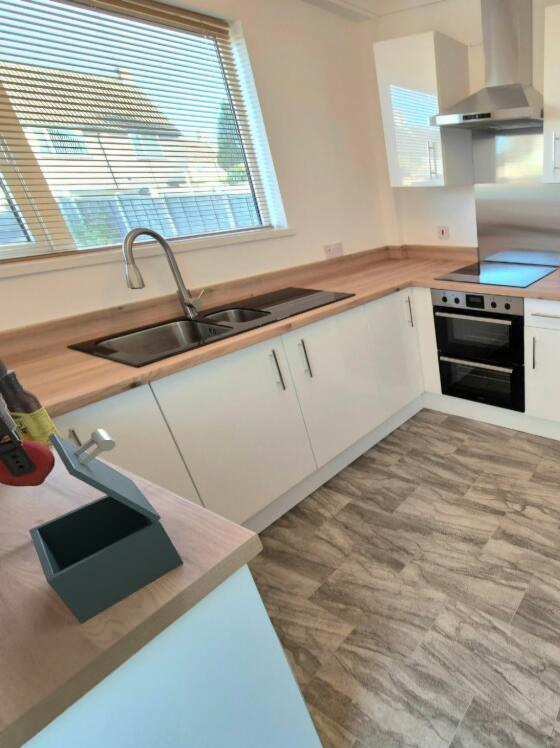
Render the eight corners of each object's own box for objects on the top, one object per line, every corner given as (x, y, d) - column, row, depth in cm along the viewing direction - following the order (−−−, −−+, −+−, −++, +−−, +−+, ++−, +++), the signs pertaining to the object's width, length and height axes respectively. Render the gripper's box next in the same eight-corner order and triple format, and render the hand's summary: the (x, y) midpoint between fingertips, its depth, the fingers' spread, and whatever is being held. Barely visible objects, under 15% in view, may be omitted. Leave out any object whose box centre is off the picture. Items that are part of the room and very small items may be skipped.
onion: (8, 505, 55) (-31, 455, 52) (7, 487, 59) (-29, 439, 55) (68, 482, 59) (36, 434, 55) (64, 466, 63) (34, 420, 59)
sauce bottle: (23, 453, 100) (-30, 377, 91) (56, 438, 105) (9, 365, 96) (38, 458, 98) (-15, 381, 89) (71, 443, 103) (24, 368, 94)
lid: (69, 473, 55) (109, 443, 57) (47, 436, 64) (83, 411, 66) (156, 522, 64) (188, 494, 67) (127, 483, 73) (156, 460, 75)
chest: (81, 624, 60) (46, 581, 56) (59, 570, 69) (28, 529, 65) (183, 563, 68) (160, 522, 64) (153, 521, 77) (131, 483, 73)
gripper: (-111, 347, 51) (-23, 461, 59) (-115, 374, 43) (-13, 502, 51) (-19, 328, 56) (50, 435, 64) (-7, 349, 48) (71, 468, 56)
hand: (22, 464), depth 57 cm, fingers closed on onion, 5 cm apart
